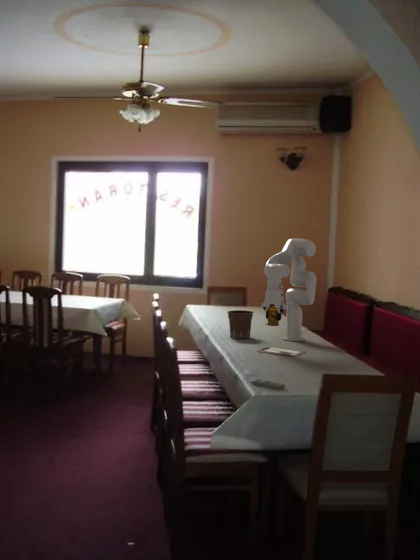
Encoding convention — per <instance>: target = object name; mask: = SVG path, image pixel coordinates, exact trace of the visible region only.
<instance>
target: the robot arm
mask: <svg viewBox="0 0 420 560" xmlns="http://www.w3.org/2000/svg"><path fill="white" fill-rule="evenodd" d="M316 250H317V249H316V245H315V243H314V242H313V241H311V240H309V239H306V238H289V239H287V240H286V242H285V243H284V245H283V247H282V249H281V251H280V252H278V253H276V254H274V255H272V256H271V257H269V259H268V260H267V262H266V263H265V266H264V270H263V272H264V275H265V276H266V277H267V289H266V290H265V294H264V301H263V302H262V303H261V304H260V306H261V308H262V309H263V310H264V311H265V319H266V320H268V309H269V306H270V304H274V305H275V308H277V310H278V314H277V320H278V321H279V322H280V321H281V320H282V314H283V313H284V311H285V310H286V317H285V318H286V319H285V321H286V323H285V336H283V337H282V340H284V341H288V342H289V341H290V342H302V341H304V340H305V337H302V335H303V326H302V325H303V310H302V308H301V306H300V305H303V306H306V305H307V306H311V305H313V304H314V303H315V302H314V301H315V296H316V287H317V276H316V273H315V272H313V271H306V267H307V265H306V261H305V259H303V257H312V256H314V255H315V254H316ZM290 263H291V268H290V266H289V265H288V264H290ZM289 275H290V277H289ZM287 277H289V283H290V285H291V286H293V287H292V288H287V290H286V292H285V299H284V292H283V289H284V285H282V278H283V279H284V278H287ZM295 287H296V288H295ZM297 287H301V288H297ZM284 300H285V301H284ZM285 302H286V304H285Z"/></svg>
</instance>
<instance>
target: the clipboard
mask: <svg viewBox="0 0 420 560" xmlns="http://www.w3.org/2000/svg"><path fill="white" fill-rule="evenodd" d="M257 352H258V353H261V354H262V353H264V354H269V355H276V356H277V355H278V356H285V357H291V358H292V357H293V358H296V357H298V356H301V355H303V354H305V353H307V352H306V351H302V350H295V349H287V348H281V347H272V346H264V347H262V348H261V349H260V350H258V351H257Z"/></svg>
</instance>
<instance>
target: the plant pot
mask: <svg viewBox="0 0 420 560" xmlns="http://www.w3.org/2000/svg"><path fill="white" fill-rule="evenodd" d="M226 313H227V317H228V323H229V325H228V326H229V336H230V338H231V337H232V338H231V339H234V338H241V339H244V340H245V338H247V339H250V338H251V331H252V320H253V315H254V311H252V310H238V309H237V310H235V309H234V310H228V311H227V312H226Z"/></svg>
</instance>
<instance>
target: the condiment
mask: <svg viewBox="0 0 420 560" xmlns="http://www.w3.org/2000/svg"><path fill="white" fill-rule="evenodd" d="M277 314H278V310H277V308H275V305H274V304H270V306H269V309H268V319H267V322H266V323H264V324H263V326H269V327H278V326H281V325H282V323H280V320H279V321H278V320H277Z"/></svg>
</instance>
